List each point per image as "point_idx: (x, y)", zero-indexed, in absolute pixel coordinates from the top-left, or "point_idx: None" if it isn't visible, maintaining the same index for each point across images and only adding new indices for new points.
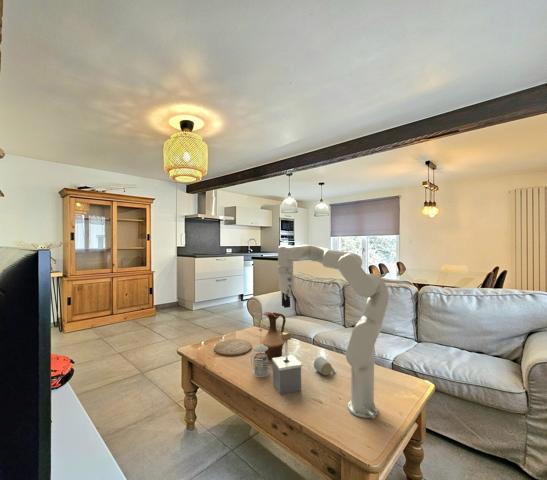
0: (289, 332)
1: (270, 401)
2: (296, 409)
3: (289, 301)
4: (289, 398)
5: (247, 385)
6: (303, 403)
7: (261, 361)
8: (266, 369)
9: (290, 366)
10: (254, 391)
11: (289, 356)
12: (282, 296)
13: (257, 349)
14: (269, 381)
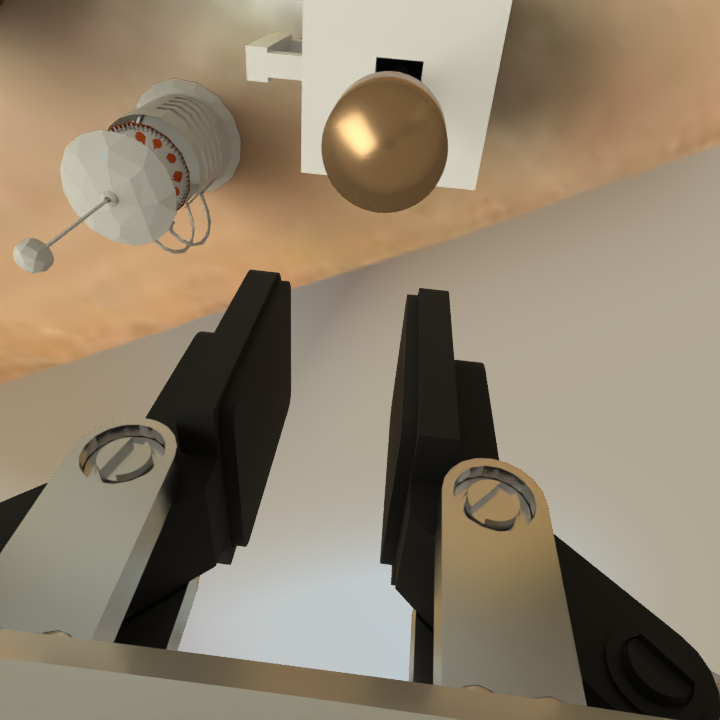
0: (372, 95)
1: (486, 206)
2: (626, 110)
3: (451, 404)
4: (518, 98)
5: (301, 256)
6: (609, 40)
7: (200, 182)
8: (210, 125)
9: (492, 96)
10: (368, 244)
11: (324, 11)
12: (191, 604)
13: (150, 231)
14: None
